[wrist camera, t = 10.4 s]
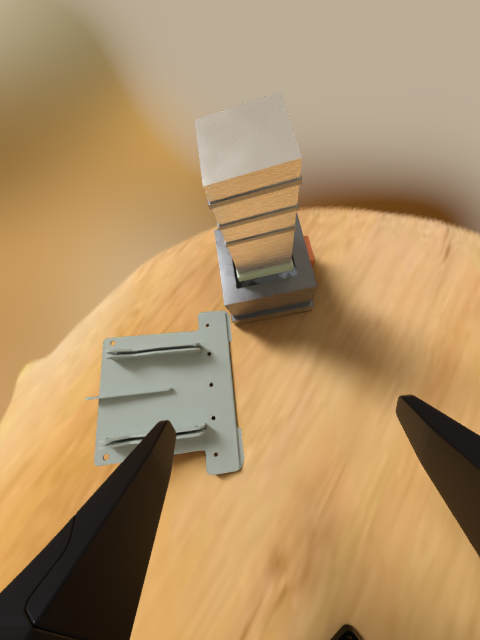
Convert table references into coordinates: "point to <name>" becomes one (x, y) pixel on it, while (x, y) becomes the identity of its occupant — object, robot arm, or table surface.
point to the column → (252, 182)
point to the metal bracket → (171, 393)
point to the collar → (269, 284)
